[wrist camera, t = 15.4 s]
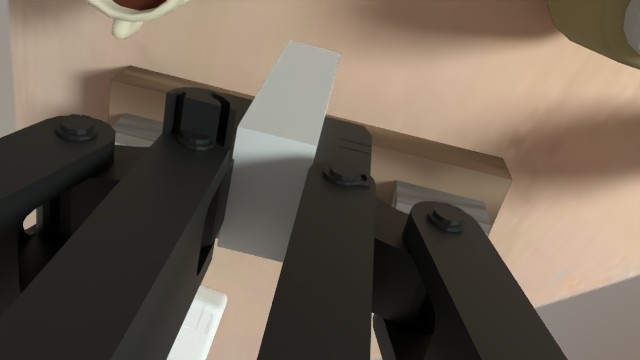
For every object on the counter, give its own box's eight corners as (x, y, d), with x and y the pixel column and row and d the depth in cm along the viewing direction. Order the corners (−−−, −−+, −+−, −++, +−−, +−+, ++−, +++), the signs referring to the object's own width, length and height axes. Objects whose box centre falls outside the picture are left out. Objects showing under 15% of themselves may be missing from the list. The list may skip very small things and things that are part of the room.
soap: (207, 353, 63) (200, 374, 60) (159, 336, 62) (149, 357, 60) (230, 292, 59) (223, 311, 56) (178, 274, 58) (168, 292, 56)
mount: (130, 65, 48) (89, 95, 42) (503, 158, 49) (521, 202, 42) (121, 188, 54) (84, 232, 47) (456, 270, 54) (466, 326, 48)
